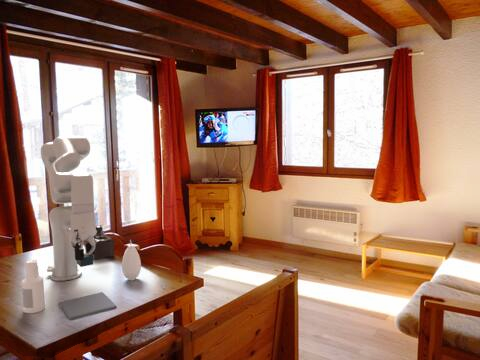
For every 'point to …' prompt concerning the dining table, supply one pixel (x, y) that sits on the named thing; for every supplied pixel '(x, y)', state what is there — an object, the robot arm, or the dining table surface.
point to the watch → (87, 254)
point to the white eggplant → (131, 263)
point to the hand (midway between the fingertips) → (85, 256)
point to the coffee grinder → (103, 245)
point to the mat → (86, 305)
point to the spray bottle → (33, 289)
